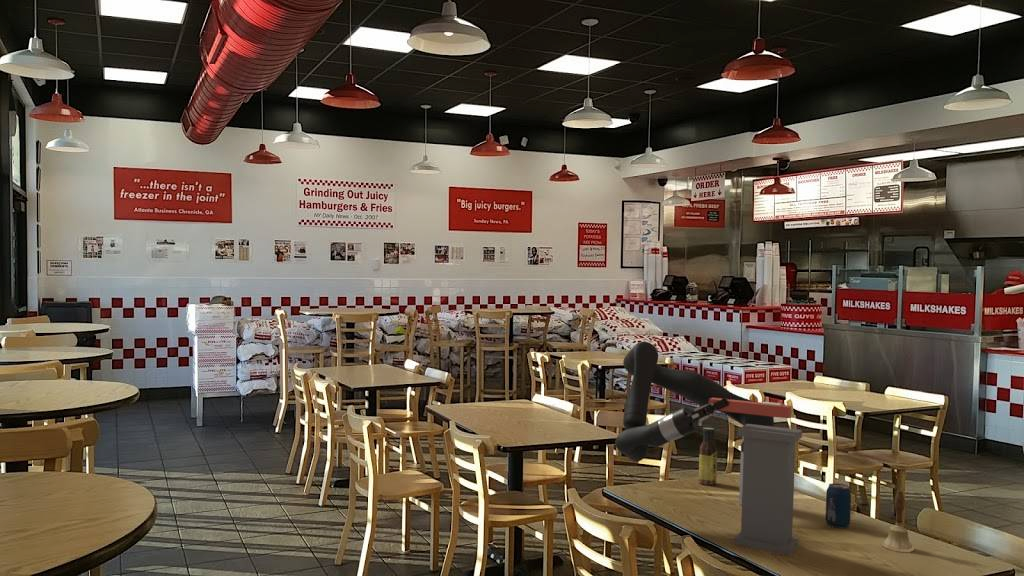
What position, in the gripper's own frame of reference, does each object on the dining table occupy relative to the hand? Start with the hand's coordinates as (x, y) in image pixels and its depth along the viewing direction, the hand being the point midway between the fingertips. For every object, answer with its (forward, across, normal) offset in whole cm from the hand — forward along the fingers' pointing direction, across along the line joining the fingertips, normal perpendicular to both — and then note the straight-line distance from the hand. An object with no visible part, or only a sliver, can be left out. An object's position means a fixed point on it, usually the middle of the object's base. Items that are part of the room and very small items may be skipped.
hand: (729, 400), depth 229 cm
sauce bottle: (-39, +57, +22) cm, 73 cm away
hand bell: (+18, +20, +55) cm, 61 cm away
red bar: (+3, 0, +5) cm, 6 cm away
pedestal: (-9, 0, +39) cm, 40 cm away
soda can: (+2, +32, +46) cm, 56 cm away
